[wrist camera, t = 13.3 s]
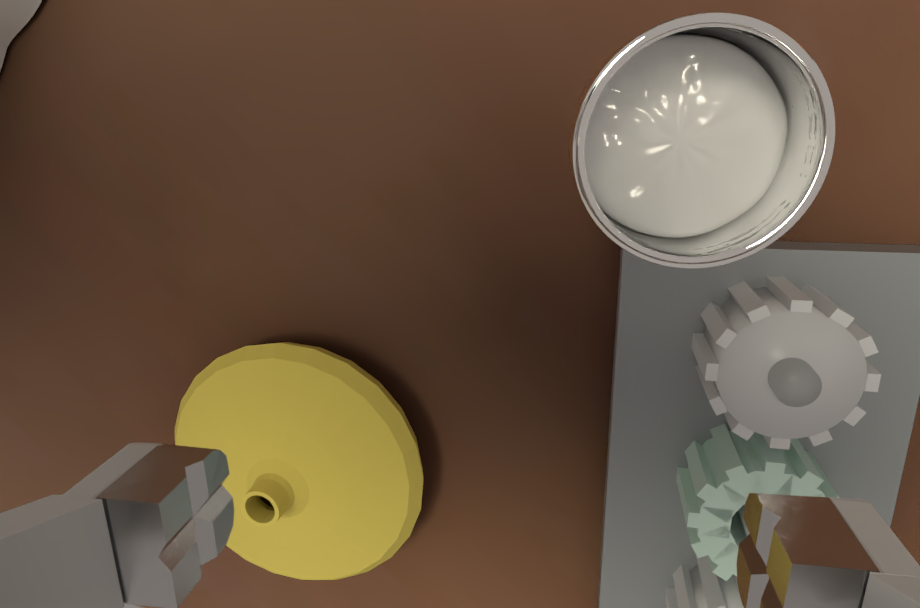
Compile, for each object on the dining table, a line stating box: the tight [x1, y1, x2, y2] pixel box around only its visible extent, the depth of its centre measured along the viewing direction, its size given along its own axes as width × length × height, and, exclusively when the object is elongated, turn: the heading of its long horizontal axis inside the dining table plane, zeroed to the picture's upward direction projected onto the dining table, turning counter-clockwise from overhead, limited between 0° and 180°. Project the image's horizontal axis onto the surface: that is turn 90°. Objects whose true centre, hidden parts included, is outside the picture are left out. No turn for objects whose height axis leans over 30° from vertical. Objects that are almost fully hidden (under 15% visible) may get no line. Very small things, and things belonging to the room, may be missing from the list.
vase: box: [175, 342, 424, 580], centre depth 36 cm, size 16×16×7 cm
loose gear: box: [676, 424, 840, 581], centre depth 31 cm, size 7×7×4 cm
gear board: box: [597, 241, 920, 608], centre depth 30 cm, size 25×14×9 cm, turn 1°
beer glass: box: [569, 12, 836, 269], centre depth 23 cm, size 7×7×15 cm
